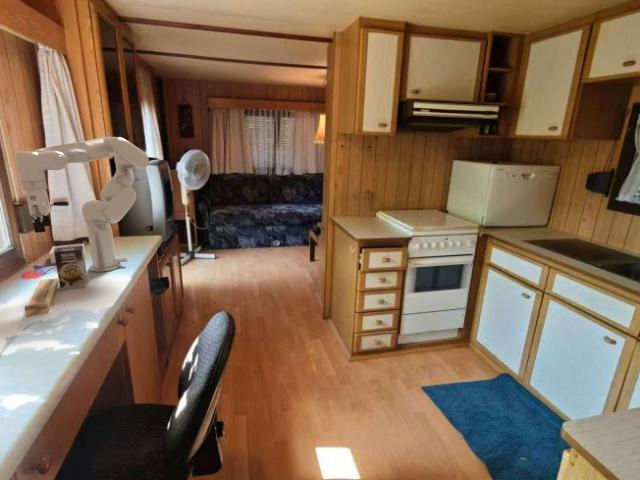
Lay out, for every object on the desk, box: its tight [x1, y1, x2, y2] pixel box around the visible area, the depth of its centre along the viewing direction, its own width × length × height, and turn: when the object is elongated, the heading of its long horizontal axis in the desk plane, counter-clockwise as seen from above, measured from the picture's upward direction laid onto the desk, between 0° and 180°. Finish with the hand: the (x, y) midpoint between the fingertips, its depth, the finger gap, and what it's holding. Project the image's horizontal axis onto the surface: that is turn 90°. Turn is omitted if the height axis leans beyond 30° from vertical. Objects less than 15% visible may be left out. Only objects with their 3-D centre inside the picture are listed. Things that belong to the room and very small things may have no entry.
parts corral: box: [49, 243, 86, 265], centre depth 176 cm, size 13×12×5 cm
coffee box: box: [54, 246, 89, 291], centre depth 143 cm, size 9×6×16 cm
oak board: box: [23, 277, 60, 318], centre depth 134 cm, size 6×30×4 cm, turn 29°
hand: (43, 229), depth 139 cm, fingers open, 9 cm apart
